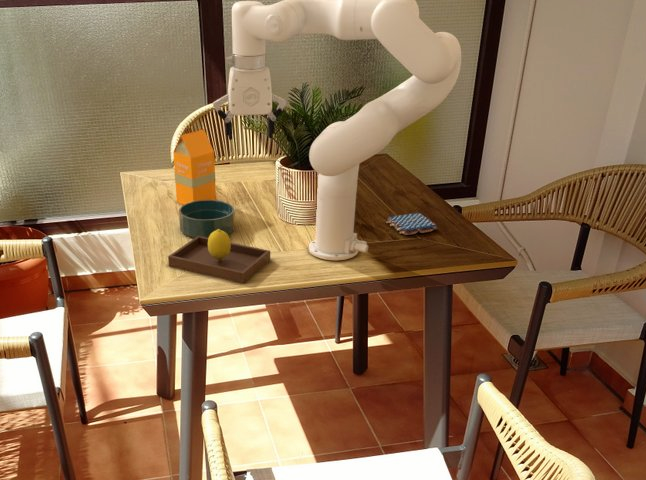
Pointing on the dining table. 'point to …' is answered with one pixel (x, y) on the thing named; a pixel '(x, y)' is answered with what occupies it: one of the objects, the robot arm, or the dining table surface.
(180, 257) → the tray
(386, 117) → the robot arm
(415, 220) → the woven mat
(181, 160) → the orange juice
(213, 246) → the lemon
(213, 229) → the bowl
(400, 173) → the dining table surface
